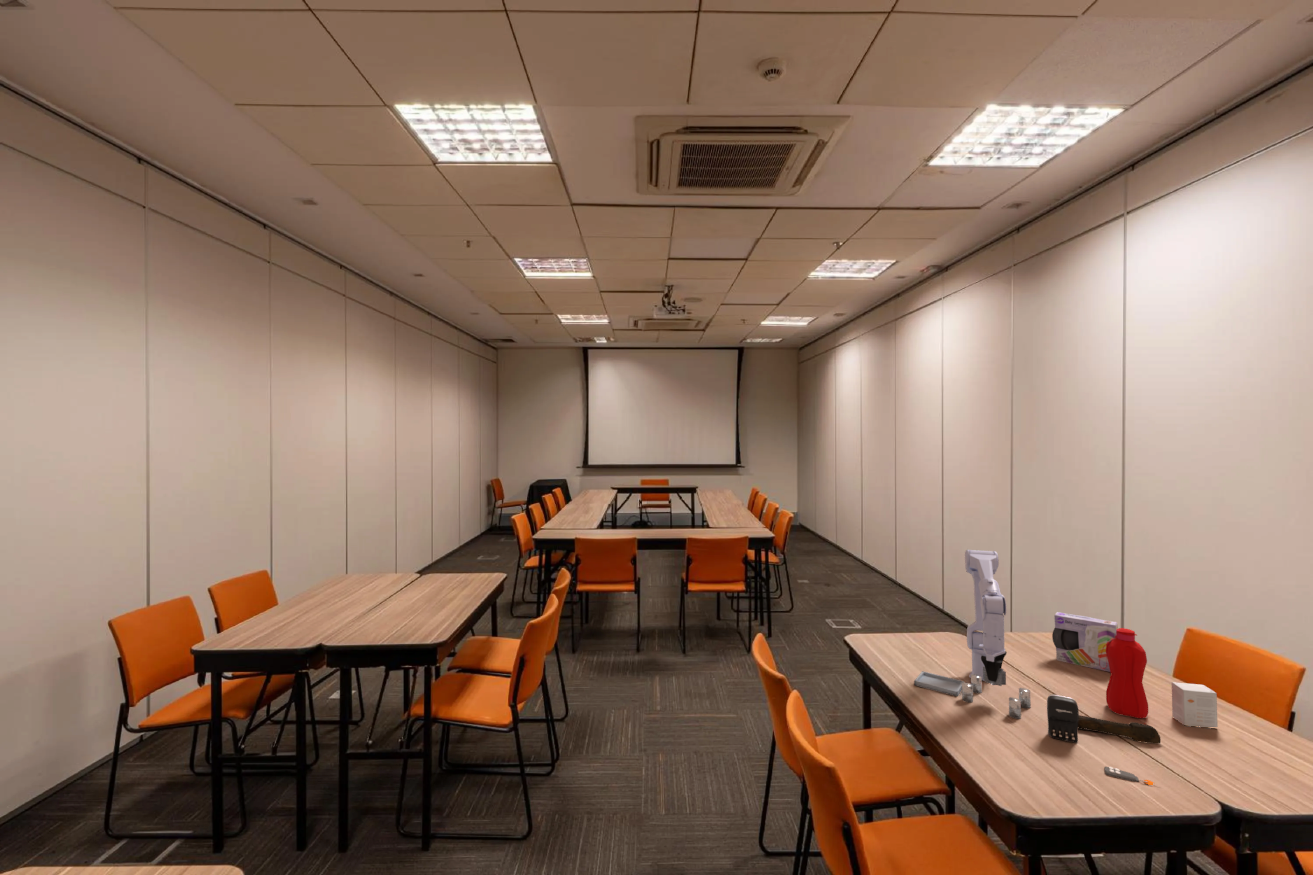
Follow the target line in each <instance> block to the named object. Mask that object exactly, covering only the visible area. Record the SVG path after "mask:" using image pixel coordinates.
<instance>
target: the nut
mask: <svg viewBox="0 0 1313 875" xmlns="http://www.w3.org/2000/svg"><path fill="white" fill-rule="evenodd" d="M983 680H985V681H984V682H985V683H987V684H989V685H991V686H999V687H1002V686H1005V685H1007V672H1006V671H1005V670H1004V668H1002V667H1001V668H999V671H998V677H997V681H996V682H994V681H989V680H988V677H987V673H986V669H985V667H983ZM983 680H982V681H983Z"/></svg>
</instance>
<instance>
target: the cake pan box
mask: <svg viewBox="0 0 1313 875" xmlns="http://www.w3.org/2000/svg"><path fill="white" fill-rule="evenodd" d="M1053 618H1054V629H1053V631H1052V637H1051V638H1052V642H1053V645H1054V647H1055V651H1056V652H1055V653H1056V654H1055V655H1056V656H1055V657H1056V661H1059V662H1063V663H1068V664H1073V665H1077V666H1082V667H1086V668H1091V669H1094V670H1099V671H1105V672H1109V673H1110V668H1109V663H1108V659H1107V658H1106V643H1107V642H1108V641H1109V640H1111V639H1112V638H1114V635H1116V630H1117V629H1119V628H1118V621H1112V620H1106V619H1101V618H1095V617H1090V616H1086V615H1079V614H1078V615H1077V614H1072V613H1065V612H1060V611H1056V613H1054V617H1053ZM1104 645H1105V646H1104ZM1103 647H1104V648H1103ZM1102 649H1103V651H1102ZM1101 652H1102V654H1101ZM1100 655H1101V657H1100ZM1099 660H1100V664H1099ZM1106 665H1107V667H1106ZM1100 666H1101V667H1100ZM1105 667H1106V668H1105ZM1102 668H1105V669H1102Z"/></svg>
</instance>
